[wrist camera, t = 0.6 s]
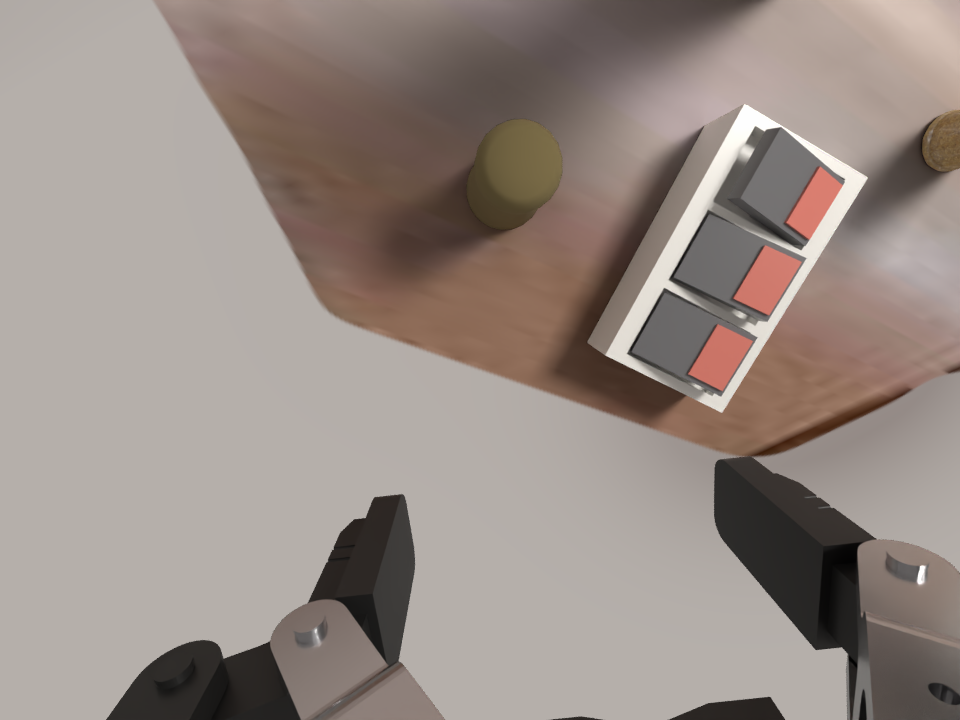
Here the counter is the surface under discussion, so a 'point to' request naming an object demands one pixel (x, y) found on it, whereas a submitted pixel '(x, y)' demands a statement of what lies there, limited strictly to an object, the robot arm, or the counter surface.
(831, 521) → the robot arm
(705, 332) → the switch
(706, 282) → the switch middle
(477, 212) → the cork
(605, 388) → the counter surface
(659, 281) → the white switch panel
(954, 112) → the sprinkles bottle
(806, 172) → the switch
